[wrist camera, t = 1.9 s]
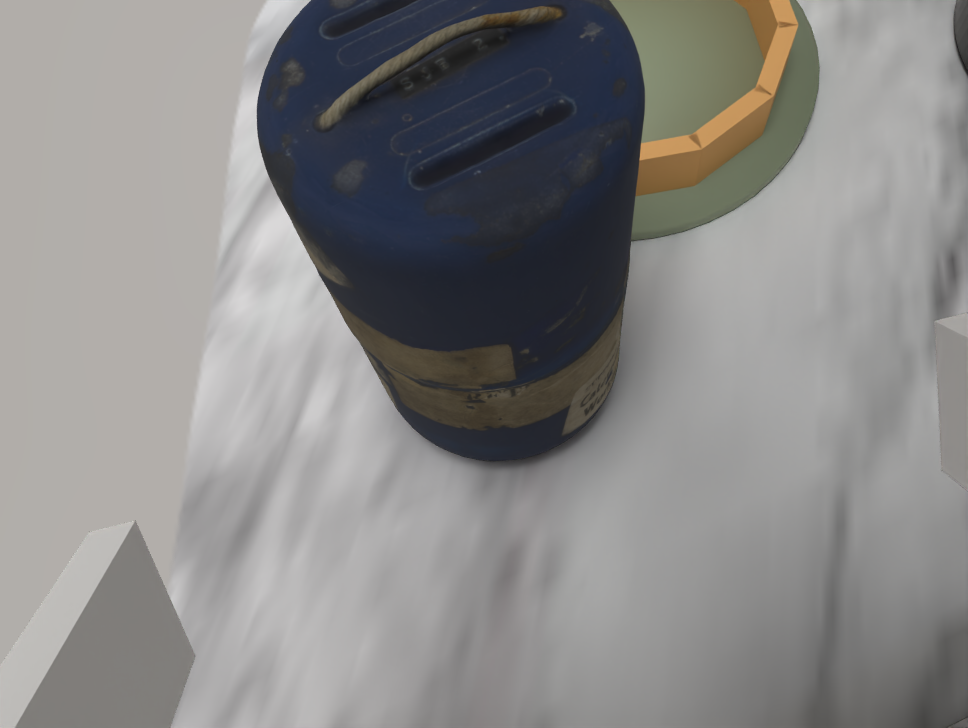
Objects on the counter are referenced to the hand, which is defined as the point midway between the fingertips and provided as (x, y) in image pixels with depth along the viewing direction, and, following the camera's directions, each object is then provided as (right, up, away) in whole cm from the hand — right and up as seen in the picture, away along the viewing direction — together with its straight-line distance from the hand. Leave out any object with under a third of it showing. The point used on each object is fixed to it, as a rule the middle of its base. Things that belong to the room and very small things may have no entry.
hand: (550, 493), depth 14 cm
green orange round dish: (+5, +16, +26) cm, 31 cm away
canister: (0, +2, +21) cm, 22 cm away
